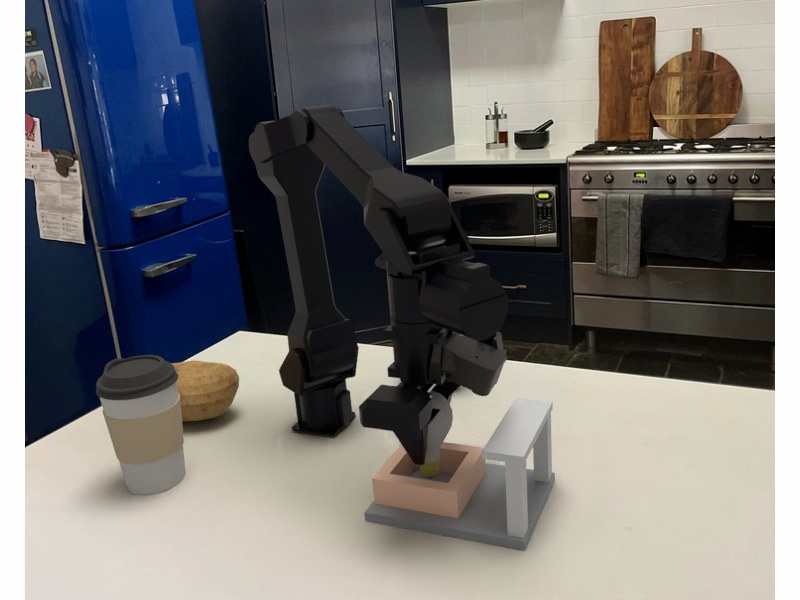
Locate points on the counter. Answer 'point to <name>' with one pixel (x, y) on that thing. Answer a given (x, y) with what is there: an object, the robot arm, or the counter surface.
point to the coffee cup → (144, 421)
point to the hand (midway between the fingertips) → (428, 452)
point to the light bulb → (436, 434)
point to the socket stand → (474, 484)
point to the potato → (205, 389)
